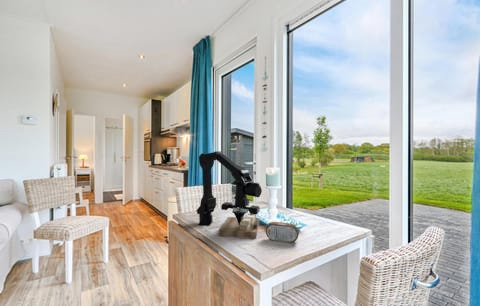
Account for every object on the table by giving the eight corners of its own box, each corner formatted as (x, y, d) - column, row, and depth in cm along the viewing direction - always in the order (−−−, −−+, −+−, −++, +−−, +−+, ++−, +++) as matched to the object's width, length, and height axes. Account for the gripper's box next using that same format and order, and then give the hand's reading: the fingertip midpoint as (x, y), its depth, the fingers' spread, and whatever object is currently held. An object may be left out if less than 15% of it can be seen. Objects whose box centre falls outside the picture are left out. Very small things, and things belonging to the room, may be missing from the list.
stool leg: (246, 229, 114) (246, 221, 114) (240, 229, 115) (240, 220, 115) (256, 220, 128) (256, 213, 128) (249, 219, 129) (249, 212, 129)
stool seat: (218, 236, 114) (218, 226, 114) (228, 222, 136) (228, 213, 136) (256, 238, 111) (256, 228, 111) (259, 223, 133) (259, 215, 133)
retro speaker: (298, 241, 108) (298, 223, 108) (298, 244, 105) (298, 225, 105) (266, 238, 112) (266, 220, 112) (265, 240, 109) (265, 222, 109)
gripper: (262, 193, 123) (261, 222, 123) (229, 189, 129) (228, 217, 129) (257, 197, 112) (255, 229, 113) (221, 193, 118) (220, 223, 119)
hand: (239, 224), depth 118 cm, fingers closed
